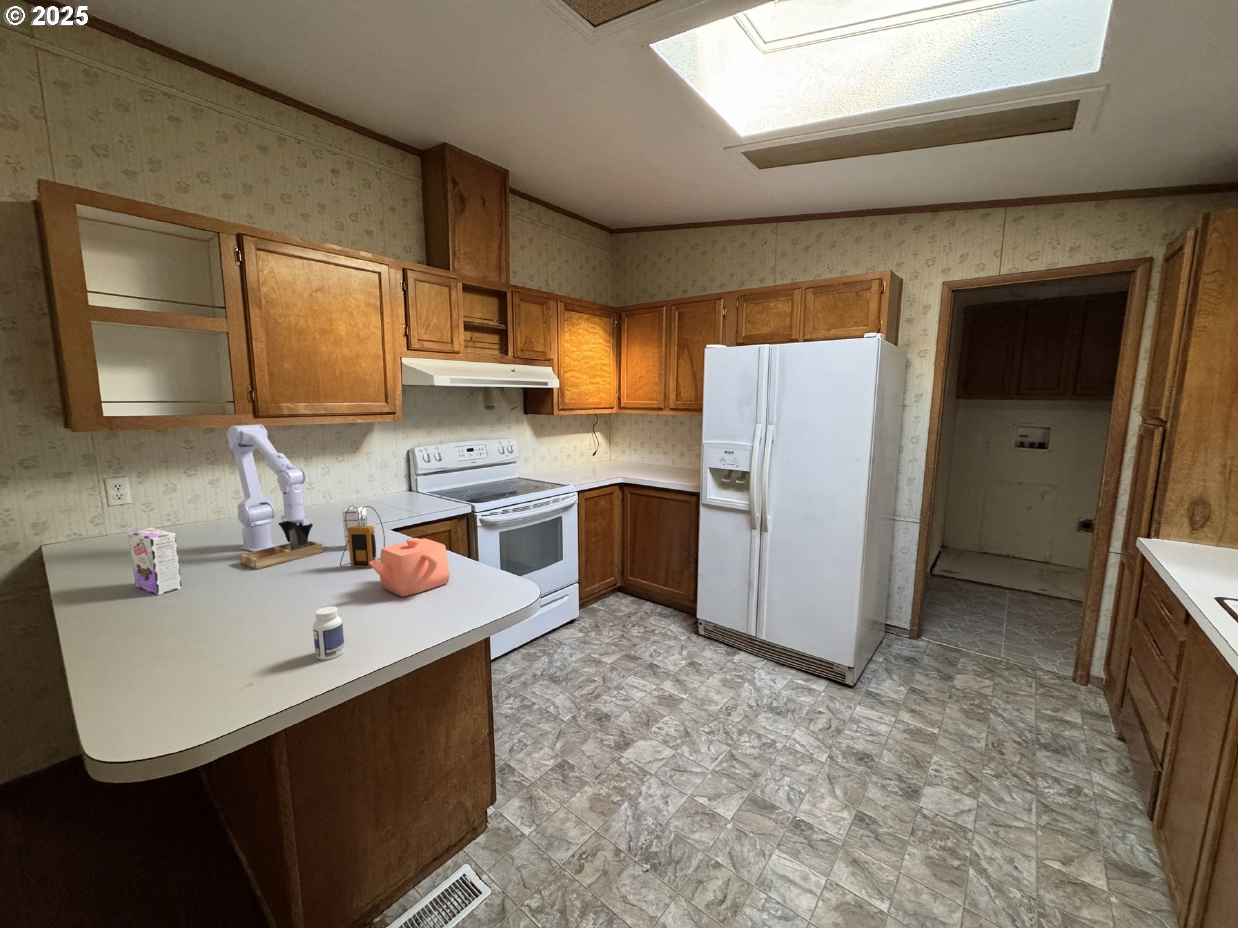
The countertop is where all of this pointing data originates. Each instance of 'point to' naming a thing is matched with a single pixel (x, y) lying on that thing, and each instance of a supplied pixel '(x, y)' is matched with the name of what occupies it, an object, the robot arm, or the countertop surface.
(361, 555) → the multimeter
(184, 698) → the countertop surface
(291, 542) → the battery cell
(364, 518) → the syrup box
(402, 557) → the teapot
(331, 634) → the pill bottle
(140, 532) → the candy box
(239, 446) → the robot arm
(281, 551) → the cell tray
